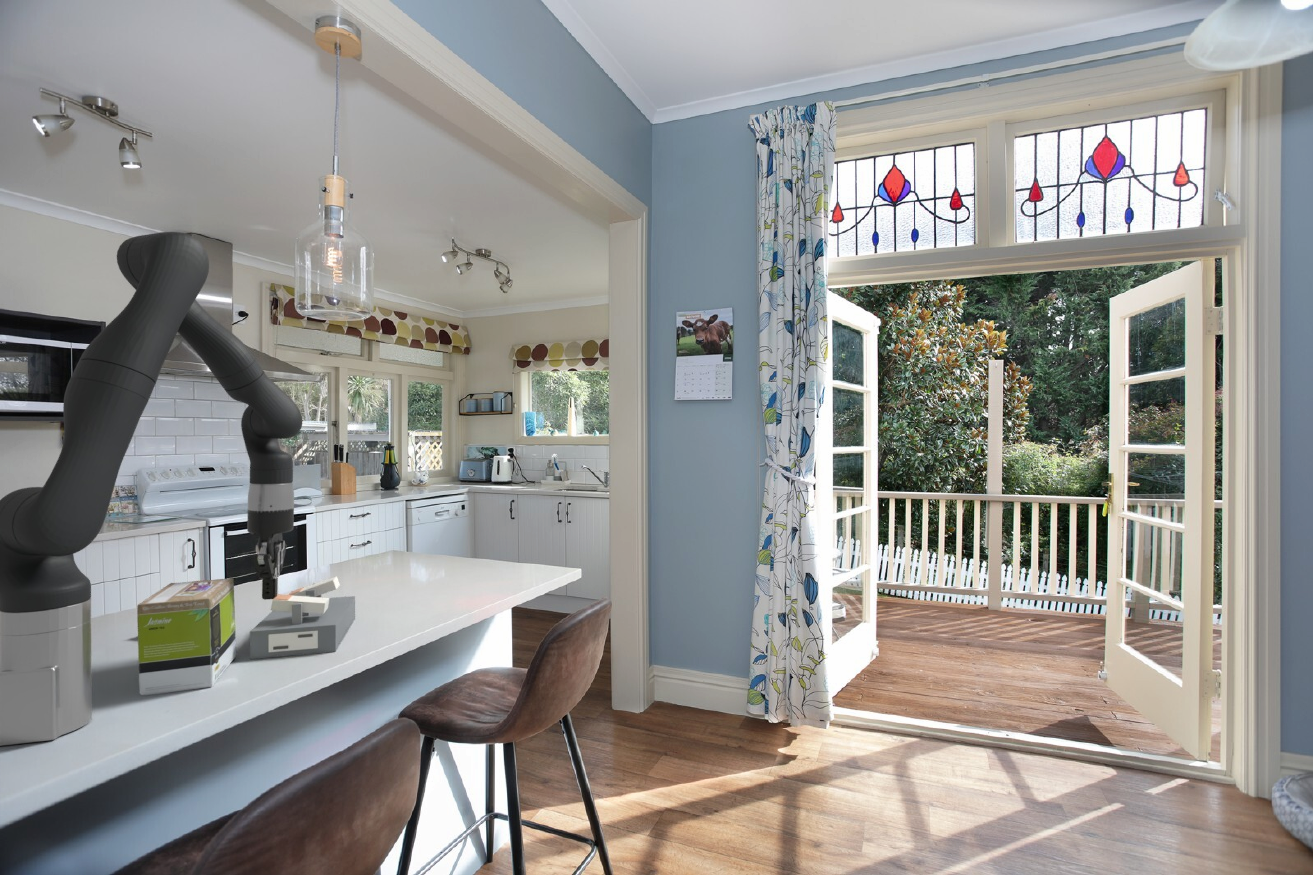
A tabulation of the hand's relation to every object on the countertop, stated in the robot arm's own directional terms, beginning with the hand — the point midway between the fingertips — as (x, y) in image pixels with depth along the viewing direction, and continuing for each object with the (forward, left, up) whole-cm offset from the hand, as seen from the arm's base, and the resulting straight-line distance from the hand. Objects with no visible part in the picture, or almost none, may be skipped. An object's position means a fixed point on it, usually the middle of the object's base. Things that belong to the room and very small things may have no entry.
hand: (269, 598), depth 121 cm
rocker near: (0, -5, -2) cm, 5 cm away
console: (+5, -5, -10) cm, 12 cm away
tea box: (-12, +9, -10) cm, 18 cm away
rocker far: (+11, -5, -2) cm, 12 cm away
